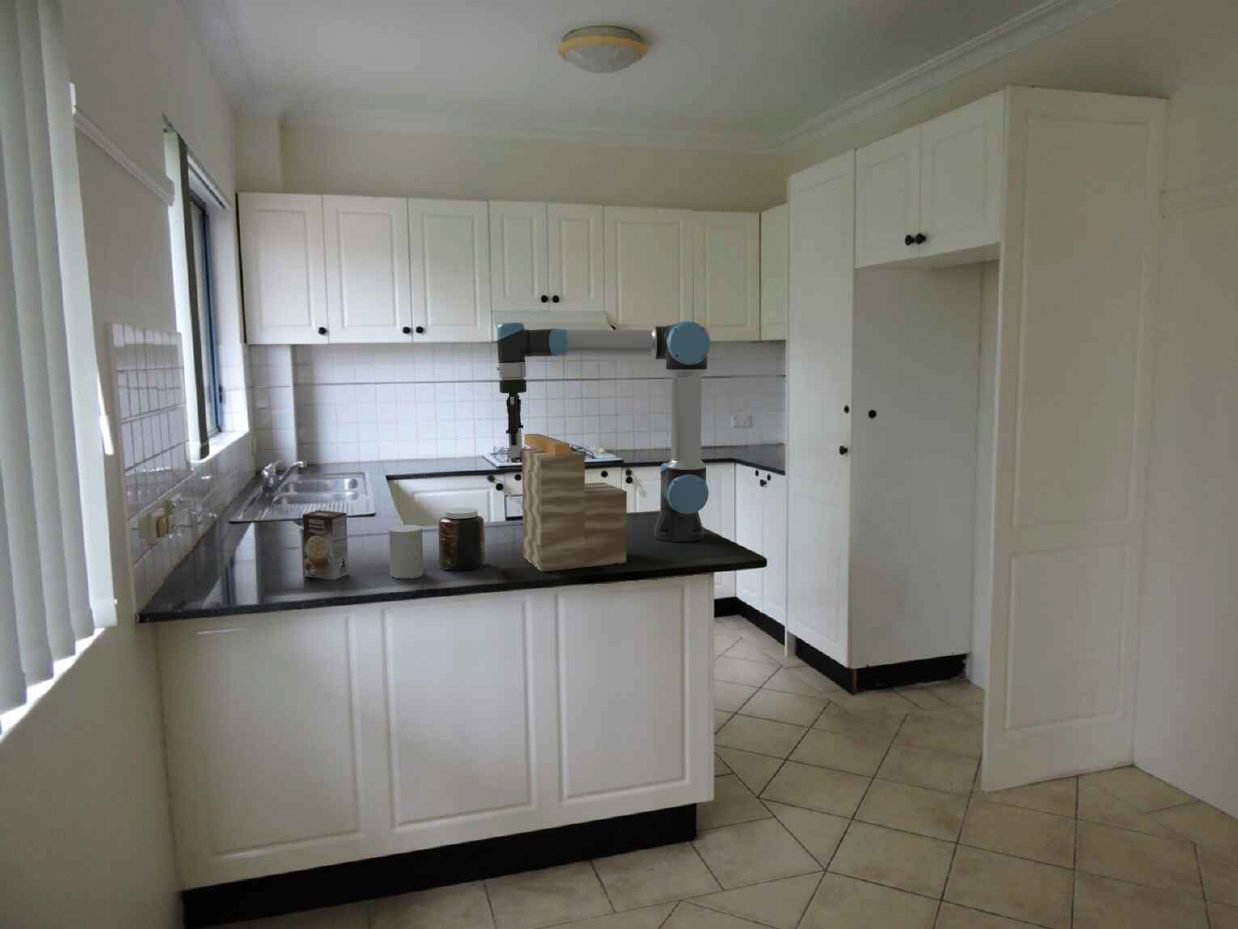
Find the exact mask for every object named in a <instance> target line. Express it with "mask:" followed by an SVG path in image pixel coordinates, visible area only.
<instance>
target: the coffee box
mask: <svg viewBox="0 0 1238 929" xmlns="http://www.w3.org/2000/svg"><path fill="white" fill-rule="evenodd" d="M347 516H348V514H347V512H341V511H340V512H339V511H331V510H322V509H316V510H314V511H310V512H307V513H303V514H302V536H303V557H304V559H303V560H304V576H305V577H307V578H308V577H309V578H315V579H316V578H317V579H324V580H332V581H334V580H337V579H340V578H342V577H345V576H347V575H349V554H348V553H349V550H348V521H347V520H348V519H347V518H348V517H347Z"/></svg>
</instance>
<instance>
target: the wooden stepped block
mask: <svg viewBox="0 0 1238 929" xmlns="http://www.w3.org/2000/svg"><path fill="white" fill-rule="evenodd" d="M585 456H586V455H585V453H582V452H578V451H575V450H573V449H570V455H558V456H554V455H552V454H549V453H546V452H544V451H541V450H538V449H535V448H522V449H521V451H520V457H521V463H522V464H521V467H522V468H521V470H522V472H521V475H522V477H521V478H522V480H521V482H522V549H523V550H522V551H523V552H522V557H524V558H523V559H524V560H526V559H527V560H528V561H527V560H526V561H527V562H529V563H530V564H531V563H532V564H533V567H535V568H536V567H537V568H536V569H538V570H539V571H540V572H541V571H542V572H548V571H549V572H550V571H561V570H568V569H569V570H571V569H578V568H587V567H588V568H589V567H595V566H596V567H598V566H606V565H615V563H618V564H625V563H627V523H628V522H627V520H628V519H627V516H628V515H627V514H628V512H627V510H628V508H627V506H628V504H627V502H628V499H627V498H628V496H627V495H628V494H627V492H628V491H626V490H624V489H621V488H619V487H616V486H614V485H612V484H609V483H606V482H592V483H591V482H589V483H586V481H585V480H586V478H585V477H586V461H585V460H586V457H585ZM532 564H531V565H532Z"/></svg>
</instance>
